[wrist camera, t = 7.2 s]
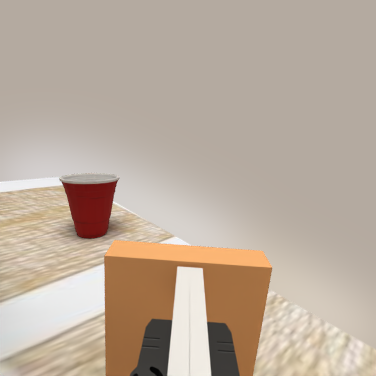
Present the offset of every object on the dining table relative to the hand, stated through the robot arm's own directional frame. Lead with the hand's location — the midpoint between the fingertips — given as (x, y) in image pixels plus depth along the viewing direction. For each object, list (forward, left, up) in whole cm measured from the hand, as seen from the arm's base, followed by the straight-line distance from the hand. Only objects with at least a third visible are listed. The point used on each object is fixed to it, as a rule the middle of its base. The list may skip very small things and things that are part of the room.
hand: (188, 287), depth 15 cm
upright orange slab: (-1, +1, -11) cm, 11 cm away
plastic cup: (-35, +16, -14) cm, 41 cm away
